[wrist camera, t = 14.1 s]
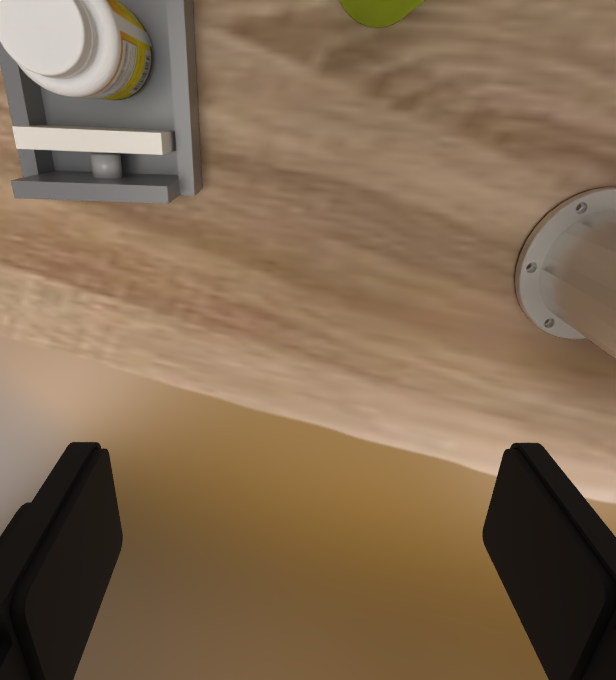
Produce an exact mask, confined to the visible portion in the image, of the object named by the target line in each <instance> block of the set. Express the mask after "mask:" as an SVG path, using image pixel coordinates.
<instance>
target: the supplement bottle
mask: <svg viewBox="0 0 616 680" xmlns="http://www.w3.org/2000/svg"><path fill="white" fill-rule="evenodd" d="M0 42H1V44H2V45H3V47H4V49H5V50H6V51H7V53H8V54H9V55H10V56H11V57H12V58H13V59H14V60H15V61H16V63H17V64H18V65H19V67H20V68H21V69H22V70H23V71H24V73H25V74H26V75H27V76H28V77H30V78H31V79H32V80H33V81H34V82H36V83H37V84H38V85H40V86H41V87H43V88H45V89H46V90H48V91H51V92H53V93H56V94H59V95H63V96H68V97H80V98H92V99H105V100H123V99H127V98H130V97H132V96H134V95H136V94H137V93H138V92H140V91H141V90H142V89H143V88H144V86H145V85H146V83H147V82H148V80H149V78H150V75H151V72H152V68H153V49H152V44H151V41H150V38H149V35H148V33H147V31H146V29H145V27H144V25H143V24H142V23H141V21H140V20H139V19H138V17H137V16H136V15H135V14H134V13H133V12H132V11H131V10H129V9H128V8H127V7H126V6H124V5H123V4H122V3H120V2H119V1H117V0H0Z"/></svg>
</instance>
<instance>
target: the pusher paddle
mask: <svg viewBox="0 0 616 680" xmlns="http://www.w3.org/2000/svg"><path fill="white" fill-rule="evenodd" d="M12 128H13V133H14V138H15V143H16V148H17V149H35V150H59V151H83V152H107V153H131V154H155V155H164V154H167V153H170V152H173V151H176V137H175V131H169V130H147V129H125V128H103V127H80V126H58V125H39V126H12Z"/></svg>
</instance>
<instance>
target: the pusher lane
mask: <svg viewBox="0 0 616 680" xmlns="http://www.w3.org/2000/svg"><path fill="white" fill-rule="evenodd" d="M117 1H119V2H120V3H122V4H123V5H124V6H126V7H127V8H128V9H129V10H131V11H132V12H133V13H134V14H135V15H136V16H137V17H138V19H139V20H140V21H141V23H142V24H143V25H144V27H145V29H146V31H147V33H148V35H149V38H150V41H151V44H152V49H153V68H152V72H151V75H150V78H149V80H148V82H147V83H146V85H145V86H144V88H143V89H142V90H141V91H140V92H138V93H137V94H136V95H134V96H132V97H130V98H127V99H123V100H105V99H92V98H80V97H68V96H63V95H59V94H56V93H53V92H51V91H48V90H46V89H45V88H43V87H41V86H40V85H38V84H37V83H36V82H34V81H33V80H32V79H31V78H30V77H28V76H27V75H26V74H25V73H24V71H23V70H22V69H21V68H20V67H19V65H18V64H17V63H16V61H15V60H14V59H13V58H12V57H11V56H10V55H9V54H8V53H7V51H6V50H5V49H4V47H3V45H2V44H1V42H0V64H1V69H2V74H3V79H4V84H5V89H6V94H7V99H8V104H9V109H10V114H11V119H12V124H13V126H39V125H58V126H80V127H103V128H125V129H147V130H169V131H175V137H176V151H173V152H170V153H167V154H164V155H155V154H131V153H107V152H83V151H59V150H35V149H18V154H19V159H20V164H21V169H22V174H23V178H20V179H15V180H11V184H12V188H13V193H14V198H24V199H52V200H81V201H110V202H139V203H167V204H169V203H170V202H171V201H172V200H174V199H175V198H176V197H178V196H179V195H192V196H195V195H196V194H197V193H198V192H199V191H200V190H201V189H202V173H201V153H200V133H199V113H198V92H197V72H196V52H195V32H194V12H193V0H117Z"/></svg>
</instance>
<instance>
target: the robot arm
mask: <svg viewBox="0 0 616 680" xmlns="http://www.w3.org/2000/svg"><path fill="white" fill-rule="evenodd" d="M577 205H578V206H577ZM576 207H577V208H576ZM528 264H529V265H528ZM527 265H528V267H527ZM515 287H516V295H517V298H518V301H519V304H520V307H521V308H522V310H523V311H524V313H525V315H526V316H527V317H528V318H529V319H530V320H531V321H532V322H533V323H534V324H535V325H536V326H538V327H539V328H540V329H542V330H543V331H545V332H547V333H549V334H551V335H554V336H556V337H561V338H565V339H589V340H590V341H591V342H593V343H594V344H596V345H597V346H598V347H600V348H601V349H603V350H604V351H605V352H607V353H608V354H609V355H611V356H612V357H614V358H615V359H616V187H604V188H598V189H592V190H589V191H586V192H583V193H581V194H578V195H575V196H574V197H572V198H570V199H568V200H566V201H565V202H563V203H561V204H560V205H559V206H557V207H556V208H555V209H553V210H552V211H551V212H549V213H548V214H547V215H546V216H545V217H544V218H543V219H542V221H541V222H540V223H539V224H538V225H537V226H536V227H535V229H534V230H533V232H532V233H531V234H530V236H529V237H528V239H527V241H526V243H525V245H524V247H523V249H522V251H521V253H520V256H519V260H518V263H517V267H516V275H515ZM122 536H123V535H122V528H121V522H120V516H119V511H118V505H117V498H116V493H115V487H114V481H113V474H112V468H111V463H110V457H109V452H108V450H107V449H101V446H100V444H99V443H97V442H72V443H70V444H69V445H68V447H67V448H66V450H65V451H64V453H63V454H62V456H61V457H60V459H59V460H58V462H57V463H56V465H55V467H54V468H53V470H52V471H51V473H50V474H49V476H48V478H47V479H46V481H45V482H44V484H43V485H42V487H41V488H40V490H39V491H38V493H37V494H36V496H35V498H34V499H33V501H32V502H31V503H25V504H24V505H22V506H21V508H19V510H18V511H17V512H16V514H15V515H14V517H13V518H12V520H11V521H10V523H9V524H8V526H7V527H6V529H5V530H4V532H3V533H2V535H1V536H0V680H73V679H74V676H75V673H76V671H77V668H78V665H79V662H80V660H81V657H82V654H83V652H84V649H85V646H86V643H87V641H88V638H89V635H90V633H91V630H92V627H93V624H94V622H95V619H96V616H97V613H98V611H99V608H100V605H101V603H102V600H103V597H104V594H105V592H106V589H107V586H108V584H109V581H110V578H111V575H112V573H113V570H114V567H115V565H116V562H117V559H118V556H119V554H120V551H121V547H122V538H123V537H122ZM483 541H484V545H485V547H486V549H487V552H488V554H489V556H490V558H491V560H492V562H493V564H494V566H495V568H496V570H497V572H498V575H499V577H500V579H501V581H502V583H503V585H504V587H505V589H506V591H507V593H508V595H509V597H510V600H511V602H512V604H513V606H514V608H515V610H516V612H517V614H518V616H519V618H520V620H521V623H522V625H523V627H524V629H525V631H526V633H527V635H528V637H529V639H530V641H531V643H532V645H533V647H534V650H535V652H536V654H537V656H538V658H539V660H540V662H541V664H542V666H543V668H544V671H545V673H546V675H547V677H548V679H549V680H616V537H615V536H614V535H613V533H612V532H611V531H610V529H609V528H608V527H607V526H606V524H605V523H604V522H603V521H602V519H601V518H600V517H599V516H598V514H597V513H596V512H595V511H594V509H593V508H592V507H591V506H590V505H589V503H588V502H587V501H586V499H585V498H584V497H583V496H582V494H581V493H580V492H579V491H578V489H577V488H576V487H575V486H574V485H573V483H572V482H571V481H570V480H569V478H568V477H567V476H566V475H565V473H564V472H563V471H562V470H561V468H560V467H559V466H558V465H557V463H556V462H555V461H554V460H553V458H552V457H551V456H550V455H549V453H548V452H547V451H546V450H545V448H544V447H543V446H542V445H541V444H539V443H514V444H513V445H512V446H511V448H510V449H506V450H505V451H504V454H503V457H502V461H501V465H500V468H499V472H498V476H497V480H496V483H495V487H494V490H493V494H492V498H491V501H490V505H489V509H488V513H487V516H486V520H485V524H484V527H483Z"/></svg>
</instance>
